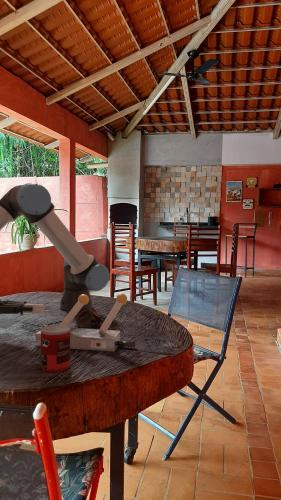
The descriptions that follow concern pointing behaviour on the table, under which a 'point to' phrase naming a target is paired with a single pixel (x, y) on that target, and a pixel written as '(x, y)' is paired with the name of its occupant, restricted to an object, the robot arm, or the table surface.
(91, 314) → the pottery mug
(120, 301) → the toggle
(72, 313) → the toggle
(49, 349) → the canned food
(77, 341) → the switch box
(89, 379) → the table surface
